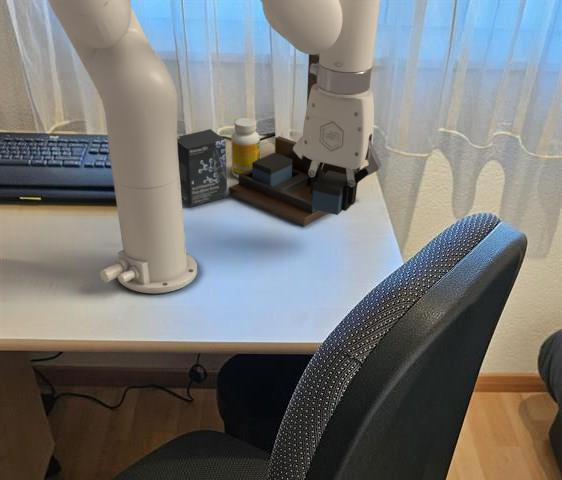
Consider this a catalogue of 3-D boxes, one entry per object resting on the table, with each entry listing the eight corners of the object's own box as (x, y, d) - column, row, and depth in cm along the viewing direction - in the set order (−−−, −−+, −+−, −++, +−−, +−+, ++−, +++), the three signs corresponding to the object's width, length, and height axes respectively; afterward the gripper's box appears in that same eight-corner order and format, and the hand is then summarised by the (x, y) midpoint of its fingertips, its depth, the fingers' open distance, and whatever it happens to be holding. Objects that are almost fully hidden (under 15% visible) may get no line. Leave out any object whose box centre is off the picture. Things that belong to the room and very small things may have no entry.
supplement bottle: (230, 169, 147) (228, 117, 140) (256, 167, 148) (256, 115, 141) (234, 180, 143) (233, 128, 136) (262, 178, 144) (262, 126, 137)
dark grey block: (270, 191, 137) (270, 169, 134) (252, 184, 139) (252, 162, 136) (291, 181, 140) (292, 159, 137) (273, 174, 142) (273, 152, 139)
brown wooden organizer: (304, 226, 131) (305, 188, 126) (228, 195, 139) (227, 158, 134) (352, 200, 138) (355, 163, 133) (278, 172, 146) (279, 135, 141)
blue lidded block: (337, 215, 118) (340, 190, 115) (311, 208, 119) (313, 183, 117) (351, 201, 122) (354, 176, 119) (326, 194, 123) (328, 170, 120)
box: (190, 208, 135) (186, 147, 127) (175, 196, 138) (170, 136, 130) (228, 198, 138) (226, 138, 130) (213, 186, 141) (210, 127, 133)
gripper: (279, 74, 107) (274, 200, 121) (390, 97, 103) (372, 225, 116) (301, 61, 112) (294, 183, 125) (408, 82, 108) (389, 207, 121)
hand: (332, 202), depth 121 cm, fingers closed on blue lidded block, 4 cm apart
